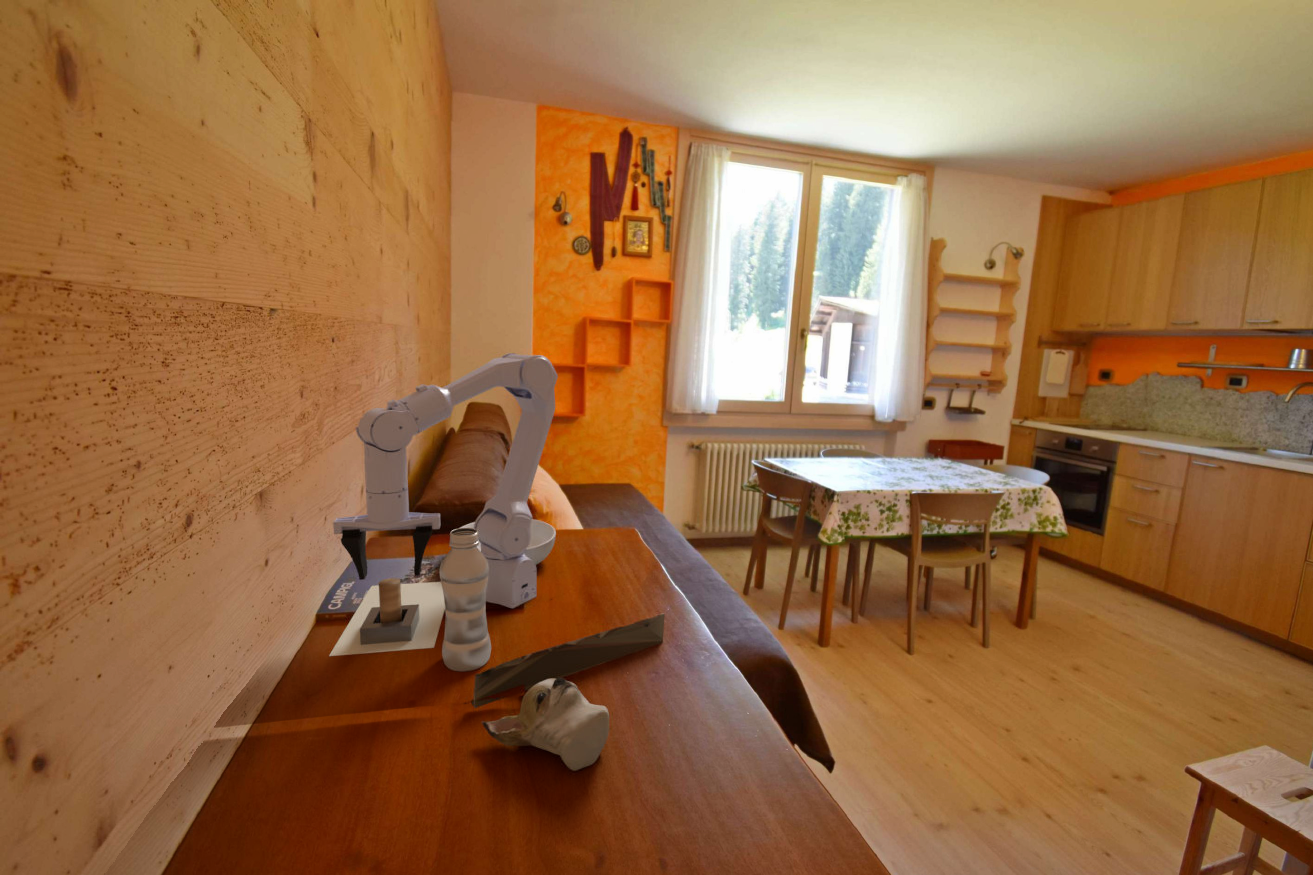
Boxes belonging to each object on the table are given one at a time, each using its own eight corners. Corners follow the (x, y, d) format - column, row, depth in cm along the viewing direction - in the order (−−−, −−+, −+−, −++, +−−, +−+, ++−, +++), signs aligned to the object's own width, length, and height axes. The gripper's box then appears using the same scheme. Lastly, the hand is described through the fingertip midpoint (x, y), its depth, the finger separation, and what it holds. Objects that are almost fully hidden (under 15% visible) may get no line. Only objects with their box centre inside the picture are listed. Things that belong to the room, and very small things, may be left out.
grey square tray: (372, 622, 91) (371, 607, 90) (419, 618, 92) (419, 604, 92) (360, 644, 84) (359, 628, 84) (411, 640, 86) (410, 625, 85)
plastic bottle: (477, 682, 78) (475, 542, 74) (432, 675, 79) (428, 536, 76) (499, 657, 84) (498, 527, 81) (457, 651, 85) (454, 522, 82)
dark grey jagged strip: (658, 640, 91) (659, 608, 90) (663, 643, 90) (664, 611, 89) (471, 704, 73) (470, 666, 72) (474, 710, 72) (474, 671, 71)
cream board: (371, 590, 104) (371, 585, 104) (452, 586, 107) (452, 581, 107) (329, 662, 81) (328, 655, 81) (434, 653, 84) (433, 647, 84)
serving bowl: (429, 575, 112) (428, 541, 111) (490, 541, 132) (489, 512, 131) (523, 592, 106) (523, 556, 105) (572, 554, 126) (572, 524, 125)
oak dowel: (406, 629, 89) (404, 580, 88) (389, 637, 86) (387, 587, 85) (393, 624, 90) (391, 576, 89) (376, 632, 88) (374, 583, 86)
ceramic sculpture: (571, 723, 57) (474, 678, 65) (573, 804, 58) (478, 749, 66) (635, 676, 65) (543, 642, 74) (636, 747, 66) (545, 704, 75)
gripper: (441, 481, 91) (443, 562, 93) (340, 484, 87) (344, 568, 89) (436, 492, 84) (439, 579, 87) (327, 496, 80) (332, 587, 83)
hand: (390, 575), depth 87 cm, fingers open, 7 cm apart
